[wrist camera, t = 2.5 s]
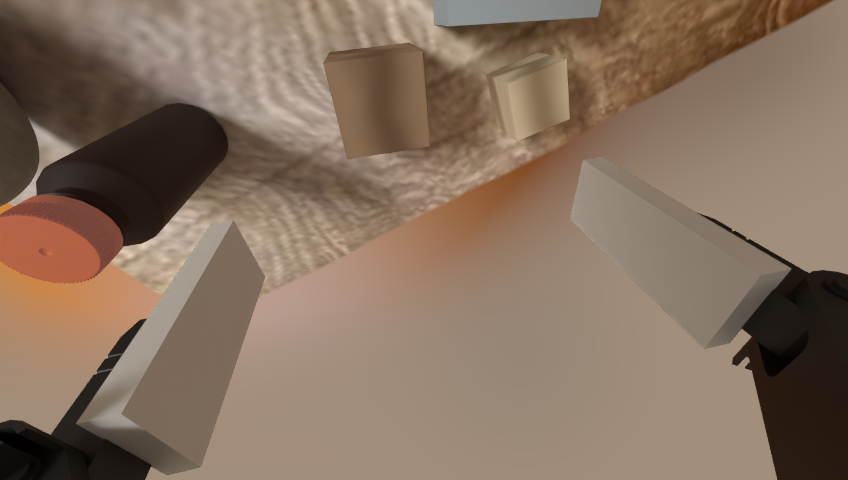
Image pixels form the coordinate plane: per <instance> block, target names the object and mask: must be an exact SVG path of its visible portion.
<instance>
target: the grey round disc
mask: <svg viewBox="0 0 848 480" xmlns="http://www.w3.org/2000/svg"><path fill="white" fill-rule="evenodd" d="M38 165H39V147H38V142H37V138H36V135H35V132H34V130H33V127H32V125H31V123H30V121H29V119H28V118H27V116H26V114H25V113H24V111H23V109H22V108H21V107H20V105H19V104H18V102H17V101H16V100H15V98H14V97H13V96H12V95H11V93H10V92H9V91H8V90H7V89H6V88H5V87H4V86H3V84H2V83H1V82H0V206H2V205H4V204H6V203H8V202H10V201H11V200H13V199H14V198H15V197H17V196H18V195H19V194H20V193H21V192H22V191H23V190H24V189H25V188H26V187H27V186H28V185H29V184H30V182H31V181H32V179H33V178H34V176H35V174H36V172H37V169H38Z"/></svg>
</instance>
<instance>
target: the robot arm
mask: <svg viewBox="0 0 848 480" xmlns="http://www.w3.org/2000/svg"><path fill="white" fill-rule="evenodd" d="M570 220H571V221H572V222H573V223H574V224H575V225H576V226H577V227H578V228H579V229H581V230H582V231H583V232H584V233H585V234H586V235H587V236H588V237H589V238H590V239H591V240H592V241H593V242H594V243H595V244H596V245H597V246H598V247H599V248H600V249H601V250H602V251H603V252H604V253H605V254H606V255H607V256H608V257H609V258H611V259H612V260H613V261H614V262H615V263H616V264H617V265H618V266H619V267H620V268H621V269H622V270H623V271H624V272H625V273H626V274H627V275H628V276H629V277H630V278H631V279H632V280H633V281H634V282H635V283H636V284H637V285H639V287H641V288H642V289H643V290H644V291H645V292H646V293H647V294H648V295H649V296H650V297H651V298H652V299H653V300H654V301H655V302H656V303H657V304H658V305H659V306H660V307H661V308H662V309H663V310H664V311H665V312H667V313H668V315H670V316H671V317H672V318H673V319H674V320H675V321H676V322H677V323H678V324H679V325H680V326H681V327H682V328H683V329H684V330H685V331H686V332H687V333H688V334H689V335H690V336H691V337H692V338H694V340H696V342H697V343H699V344H700V345H701V346H702V347H703V348H704V349H706V348H711V347H715V346H719V345H724V344H727V343H730V342H731V341H732V340H733V338H734V337H735V336H736V335H737V334H738V332H739V331H740V330H741V329H743V330H744V331H746V332H747V333H748V334H750V335H751V336H752V337H751V338H750V340H749V341H748V342H747V343H746V344H745V345H744V346H743V347H742V348H741V350H740V351H739V352H738V353H737V354H736V355H735V356H734V357H733V361H732V364H733V365H736V366H737V365H739V364H740V363H741V361H742V360H743V359H744V358H745V357H749V360H750V362H749V363H748V364H747V366H746V367H745V368H746V369H749V370H752V373H753V377H754V381H755V386H756V390H757V394H758V399H759V402H760V407H761V411H762V415H763V420H764V424H765V429H766V433H767V437H768V441H769V445H770V450H771V454H772V458H773V463H774V467H775V471H776V476H777V480H848V275H847V274H843V273H839V272H833V271H825V270H821V271H812V272H811V273H808V272H806V271H804V270H802V269H800V268H799V267H797V266H795V265H794V264H792V263H790V262H788V261H786V260H785V259H783V258H781V257H779V256H778V255H776V254H774V253H773V252H771V251H769V250H767V249H766V248H764V247H762V246H761V245H759V244H757V243H755V242H753V241H752V240H750V239H749V240H747V239H746V237H745V236H743V235H741V234H740V233H738V232H736V231H732V229H731V228H729V227H727V226H726V225H724V224H722V223H721V222H719V221H717V220H715V219H713V218H710V217H708V216H704V215H702V214H699V213H696V212H695V211H693V210H691V209H689V208H688V207H686V206H684V205H683V204H681V203H679V202H677V201H676V200H674V199H672V198H671V197H669V196H667V195H666V194H664V193H662V192H661V191H659V190H657V189H655V188H654V187H652V186H650V185H648V184H647V183H645V182H644V181H642V180H640V179H638V178H637V177H635V176H633V175H632V174H630V173H628V172H627V171H625V170H623V169H621V168H620V167H618V166H616V165H615V164H613V163H611V162H610V161H608V160H606V159H604V158H603V157H598V158H592V159H586V160H583V163H582V168H581V172H580V177H579V182H578V185H577V190H576V194H575V199H574V203H573V208H572V213H571V217H570ZM264 279H265V276H264V274H263V272H262V270H261V268H260V267H259V265H258V263H257V261H256V260H255V258H254V256H253V254H252V252H251V251H250V249H249V247H248V245H247V244H246V242H245V240H244V238H243V236H242V235H241V233H240V231H239V229H238V227H237V226H236V224H235V222H234V220H232V221H227V222H221V223H215V224H211V225H210V226H209V228H208V229H207V231H206V232H205V234H204V235H203V237H202V238H201V240H200V241H199V243H198V244H197V245H196V247H195V248H194V250H193V251H192V253H191V254H190V256H189V257H188V259H187V260H186V262H185V263H184V265H183V266H182V268H181V269H180V271H179V272H178V274H177V275H176V277H175V278H174V279H173V281H172V282H171V284H170V285H169V287H168V288H167V290H166V291H165V293H164V294H163V296H162V297H161V299H160V300H159V302H158V303H157V305H156V306H155V308H154V309H153V311H152V312H151V313H150V315H149V317H148V318H147V319H142V320H140V321H138V322H137V323H136V324H135V325H134V326H133V327H132V328H130V329H129V330H128V331H127V332H126V333H125V334H124V335H123V336H122V337H121V338H120V339H119V341H118V342H117V343H116V345H115V346H114V348H113V349H112V350H111V352H110V353H109V354H108V359H105V360H104V361H103V363H102V364H101V366H100V367H99V368H98V370H97V374H96V375H93V377H92V378H91V379H90V381H89V382H88V384H87V385H86V387H85V388H84V389H83V391H82V392H81V393H80V395H79V396H78V398H77V399H76V400H75V402H74V403H73V405H72V406H71V407H70V409H69V410H68V411H67V413H66V414H65V416H64V417H63V418H62V420H61V421H60V423H59V424H58V425H57V427H56V428H55V429H54V431H53V432H52V434H51V435H49V434H47V433H45V432H43V431H41V430H39V429H37V428H35V427H33V426H31V425H30V424H28V423H26V422H23V421H18V420H9V421H6V422H2V423H0V480H145V479H146V476H147V474H148V472H149V470H150V467H153V468H155V469H157V470H159V471H160V472H162V473H164V474H166V475H170V474H174V473H178V472H182V471H186V470H191V469H195V468H199V467H201V465H202V462H203V459H204V456H205V453H206V450H207V447H208V445H209V441H210V439H211V436H212V433H213V430H214V427H215V424H216V421H217V418H218V415H219V412H220V409H221V406H222V403H223V400H224V397H225V394H226V391H227V388H228V385H229V382H230V379H231V377H232V374H233V371H234V368H235V365H236V362H237V358H238V356H239V353H240V350H241V347H242V344H243V341H244V338H245V335H246V332H247V329H248V326H249V323H250V320H251V317H252V314H253V311H254V308H255V305H256V303H257V300H258V297H259V294H260V291H261V288H262V285H263V282H264Z"/></svg>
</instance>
